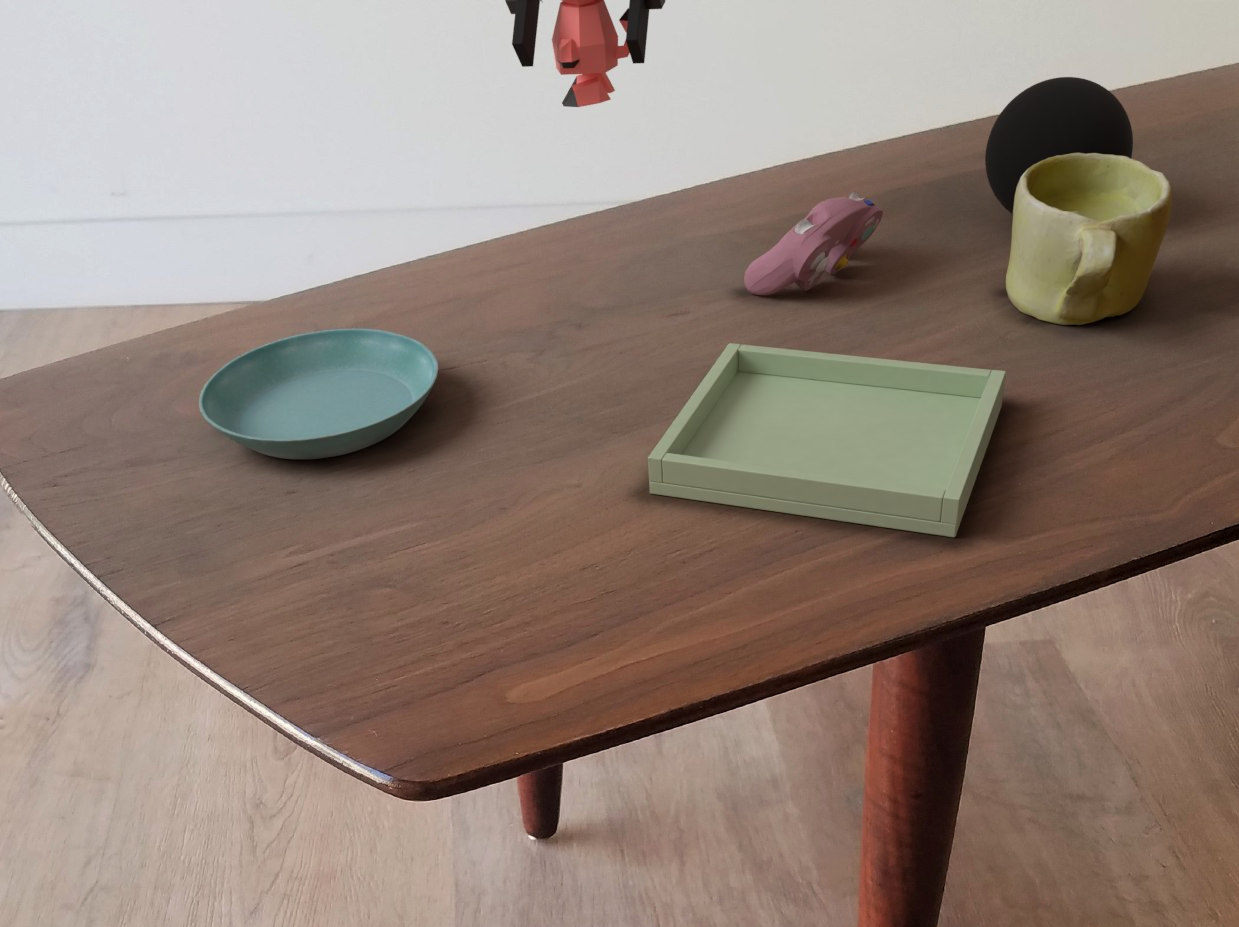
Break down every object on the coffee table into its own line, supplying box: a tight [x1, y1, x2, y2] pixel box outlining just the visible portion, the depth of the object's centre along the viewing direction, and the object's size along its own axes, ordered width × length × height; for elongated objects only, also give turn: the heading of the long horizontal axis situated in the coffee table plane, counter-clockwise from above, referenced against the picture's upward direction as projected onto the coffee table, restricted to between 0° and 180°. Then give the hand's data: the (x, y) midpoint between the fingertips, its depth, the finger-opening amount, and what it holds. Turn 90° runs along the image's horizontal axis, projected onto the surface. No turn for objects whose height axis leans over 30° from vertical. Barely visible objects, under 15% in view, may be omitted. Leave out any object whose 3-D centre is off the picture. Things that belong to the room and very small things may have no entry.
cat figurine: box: [540, 0, 630, 108], centre depth 91 cm, size 7×7×12 cm
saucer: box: [198, 327, 439, 460], centre depth 85 cm, size 15×15×3 cm
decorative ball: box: [984, 76, 1134, 215], centre depth 99 cm, size 10×10×10 cm
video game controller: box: [743, 191, 884, 296], centre depth 95 cm, size 10×5×7 cm, turn 137°
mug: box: [1005, 153, 1173, 326], centre depth 88 cm, size 12×10×10 cm
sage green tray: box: [647, 342, 1007, 538], centre depth 77 cm, size 17×15×2 cm
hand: (578, 53), depth 90 cm, fingers closed on cat figurine, 7 cm apart
